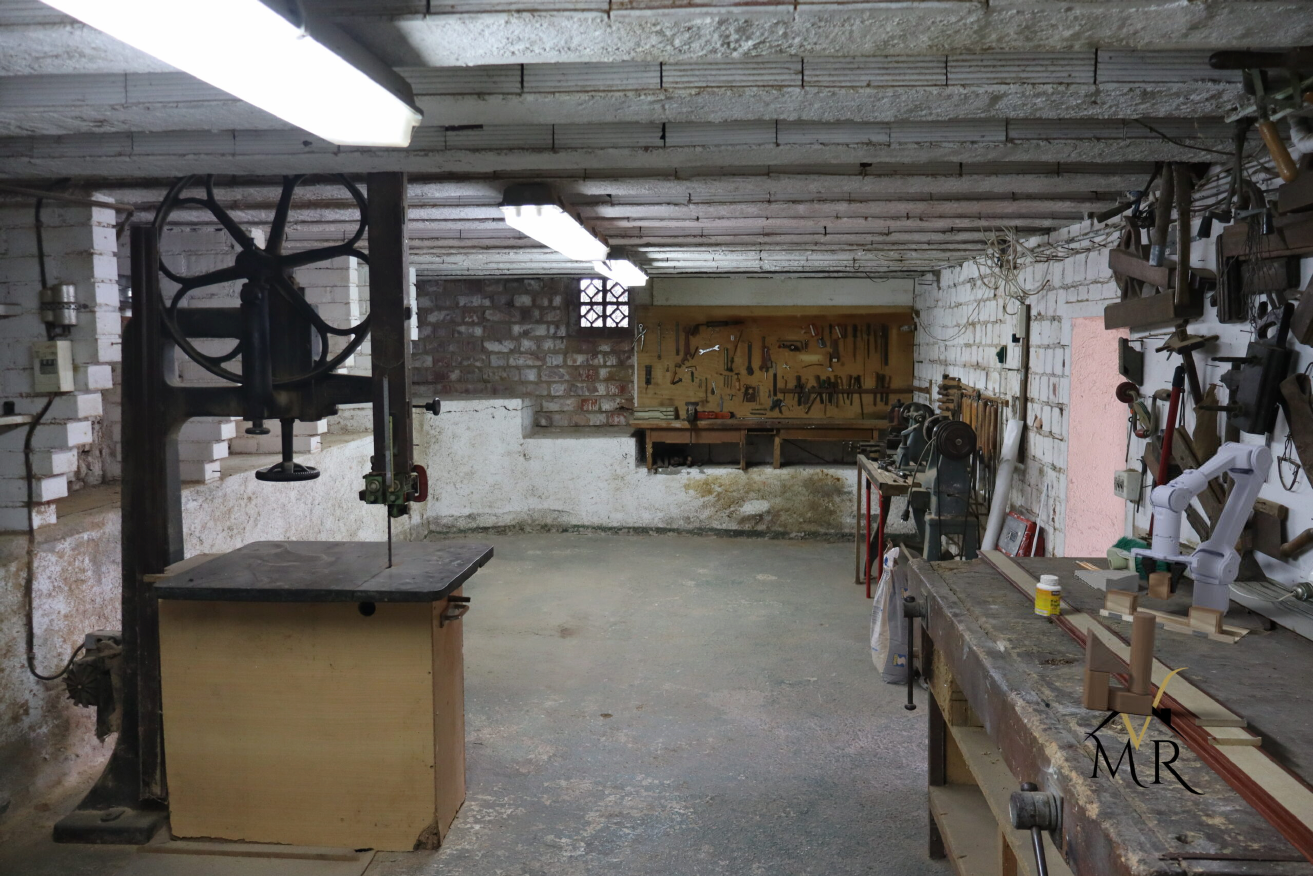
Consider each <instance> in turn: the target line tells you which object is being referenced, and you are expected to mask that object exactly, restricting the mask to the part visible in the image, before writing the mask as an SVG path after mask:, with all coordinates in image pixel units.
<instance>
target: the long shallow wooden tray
mask: <svg viewBox="0 0 1313 876" xmlns="http://www.w3.org/2000/svg"><path fill="white" fill-rule="evenodd" d="M1137 611H1144V612H1150V613H1153V614H1155V615H1156V626H1155V628H1160V629H1164V630H1167V631H1173V632H1177V633H1183V634H1187V635H1192V636H1196V637H1201V638H1204V639H1205V638H1206V639H1209V640H1214V641H1219V642H1222V643H1223V642H1224V643H1229V644H1232V645H1234V644H1235V643H1236V642H1237V641H1238V640H1240V639H1241V638H1242V637H1244V636H1245V635H1246V634H1247V633H1249V632H1250V631H1251V629H1247V628H1243V627H1237V626H1233V625H1227V624H1224V623H1223V629H1222V634H1217V633H1213V632H1208V631H1203V630H1198V629H1194V628H1189V627H1188V616H1185V615H1179V614H1174V613H1169V612H1166V611H1165V612H1164V611H1159V610H1155V609H1150V608H1146V607H1145V608H1144V607H1140V606H1137ZM1099 615H1100V616H1103V617H1109V618H1114V619H1117V620H1122V621H1127V622H1132V623H1133V616H1132V615H1128V614H1123V613H1118V612H1114V611H1109V610H1105V608H1101V609H1099Z"/></svg>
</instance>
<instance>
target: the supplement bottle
mask: <svg viewBox="0 0 1313 876" xmlns="http://www.w3.org/2000/svg"><path fill="white" fill-rule="evenodd" d="M1039 579H1040V580H1039V581H1040V582H1038V583H1037V584H1036V588H1035V589H1036V590H1035V600H1034V601H1035V602H1034V613H1035V614H1037V615H1039V616H1040V615H1041V616H1043V617H1053V618H1054V617H1058V616H1057V615H1058V614H1059V615H1060V613H1059V612H1060V609H1061V598H1062V586H1061V585H1060V584H1059V577H1058V576H1056V575H1052V574H1042V575H1040V578H1039Z"/></svg>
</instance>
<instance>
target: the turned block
mask: <svg viewBox="0 0 1313 876" xmlns="http://www.w3.org/2000/svg"><path fill="white" fill-rule="evenodd" d="M1170 586H1171V572H1168V571H1163V570H1156V571H1155V572H1154V573H1152V574H1150V577H1149V589H1148V592H1147V594H1148V595H1147V598H1148V597H1149V598H1153V599H1157V600H1162V601H1167V600H1170V599H1171V598H1173V597H1174V596H1175V593H1174V594H1172V593H1170Z"/></svg>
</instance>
